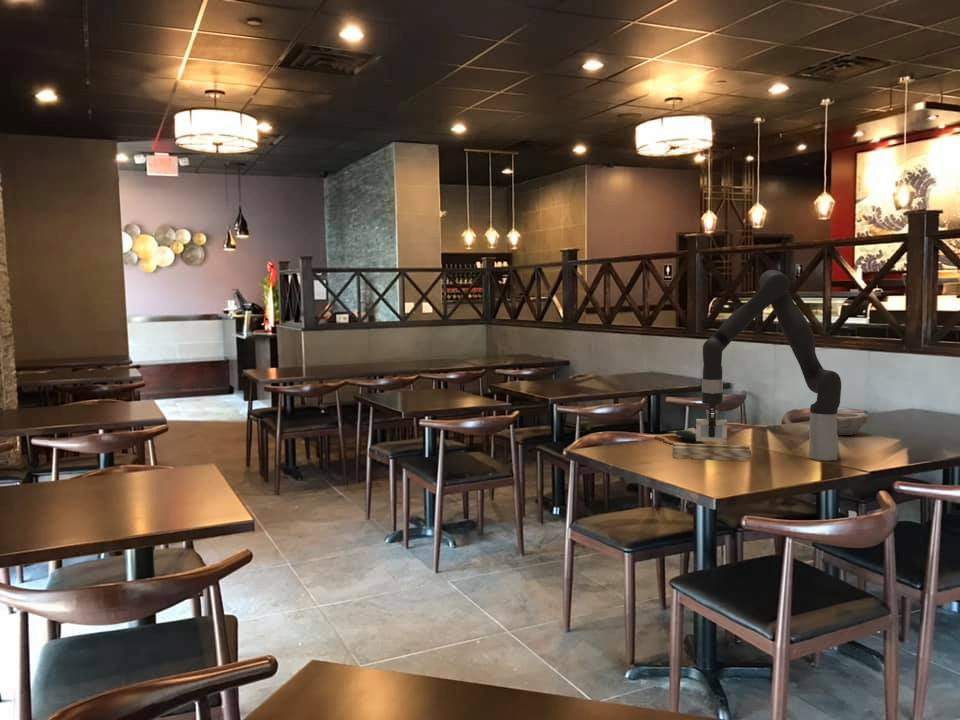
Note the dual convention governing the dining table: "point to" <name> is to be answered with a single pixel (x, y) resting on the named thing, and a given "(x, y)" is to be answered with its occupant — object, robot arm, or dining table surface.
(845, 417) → the mortar
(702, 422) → the tapered grey panel
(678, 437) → the decorative plaque
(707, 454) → the picture ledge
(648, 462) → the dining table surface
